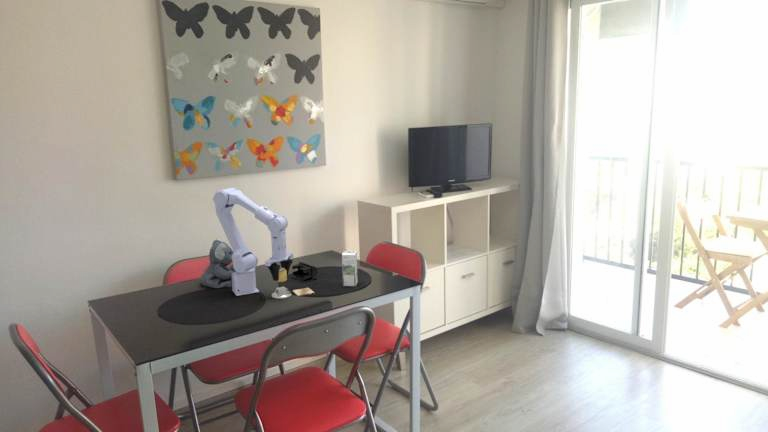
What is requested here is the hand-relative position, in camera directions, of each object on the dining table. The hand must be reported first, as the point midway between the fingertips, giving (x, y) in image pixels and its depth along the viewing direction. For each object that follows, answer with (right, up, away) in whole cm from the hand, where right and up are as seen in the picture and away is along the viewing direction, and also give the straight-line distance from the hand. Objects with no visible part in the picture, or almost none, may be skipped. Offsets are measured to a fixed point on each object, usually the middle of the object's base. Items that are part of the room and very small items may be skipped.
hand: (280, 278), depth 221 cm
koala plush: (-29, -4, +17) cm, 34 cm away
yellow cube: (0, -1, 0) cm, 0 cm away
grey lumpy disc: (0, -7, +1) cm, 7 cm away
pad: (+9, -6, +5) cm, 12 cm away
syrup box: (+28, -4, +13) cm, 31 cm away
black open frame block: (+7, -3, +23) cm, 24 cm away
